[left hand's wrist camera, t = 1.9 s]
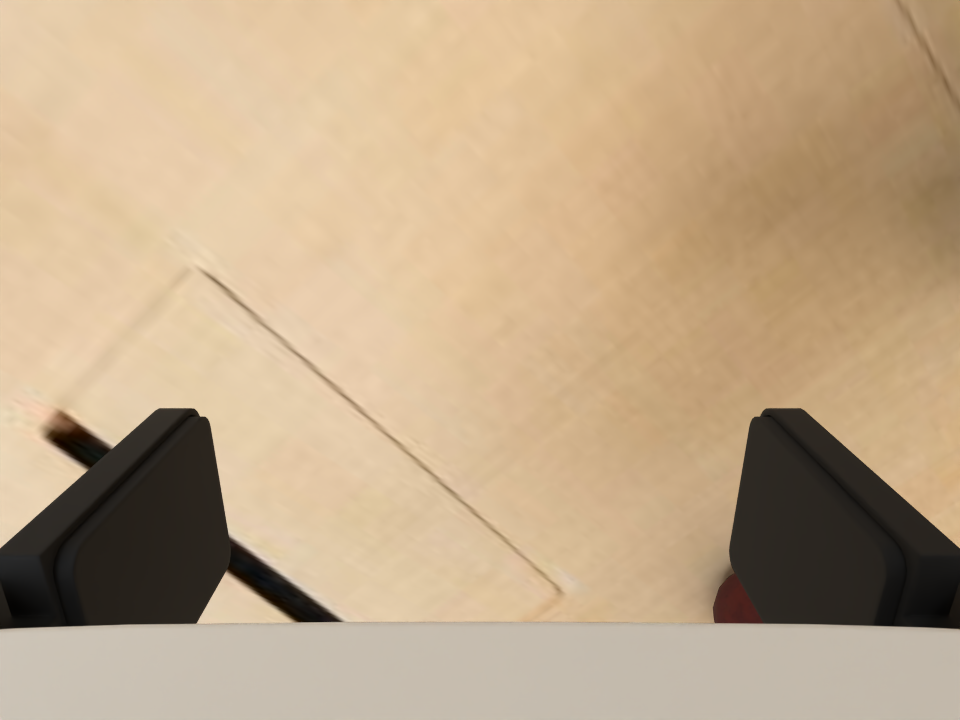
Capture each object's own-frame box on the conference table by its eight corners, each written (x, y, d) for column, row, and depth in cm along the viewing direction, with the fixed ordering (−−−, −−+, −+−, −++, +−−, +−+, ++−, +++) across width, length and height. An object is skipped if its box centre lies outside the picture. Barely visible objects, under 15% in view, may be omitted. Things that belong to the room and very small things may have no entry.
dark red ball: (777, 640, 45) (827, 728, 39) (679, 610, 44) (714, 695, 38) (831, 560, 43) (895, 639, 36) (729, 527, 42) (775, 603, 35)
